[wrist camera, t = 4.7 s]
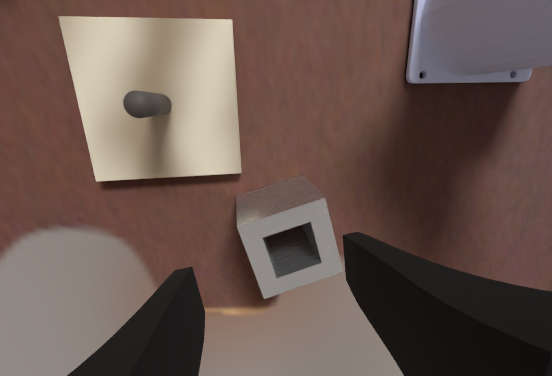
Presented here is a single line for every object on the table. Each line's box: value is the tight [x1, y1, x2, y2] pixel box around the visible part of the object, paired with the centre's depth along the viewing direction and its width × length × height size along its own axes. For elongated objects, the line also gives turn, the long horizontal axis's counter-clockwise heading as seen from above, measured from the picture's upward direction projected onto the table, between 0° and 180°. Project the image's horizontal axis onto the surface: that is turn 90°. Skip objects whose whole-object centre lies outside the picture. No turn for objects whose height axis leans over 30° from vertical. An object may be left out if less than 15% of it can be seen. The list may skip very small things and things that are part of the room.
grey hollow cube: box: [236, 174, 343, 299], centre depth 18 cm, size 5×5×5 cm
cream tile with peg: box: [58, 16, 241, 181], centre depth 15 cm, size 9×9×5 cm
